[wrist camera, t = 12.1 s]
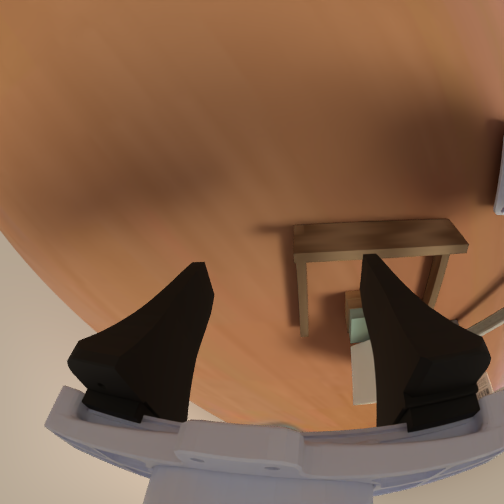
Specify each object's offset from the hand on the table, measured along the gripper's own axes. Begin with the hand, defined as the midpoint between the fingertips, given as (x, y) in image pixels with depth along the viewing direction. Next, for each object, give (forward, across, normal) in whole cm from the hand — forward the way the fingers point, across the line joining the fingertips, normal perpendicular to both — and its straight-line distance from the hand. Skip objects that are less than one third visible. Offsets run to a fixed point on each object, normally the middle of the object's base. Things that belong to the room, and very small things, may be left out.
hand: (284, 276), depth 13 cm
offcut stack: (+11, -7, +12) cm, 18 cm away
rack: (+10, -7, +9) cm, 15 cm away
